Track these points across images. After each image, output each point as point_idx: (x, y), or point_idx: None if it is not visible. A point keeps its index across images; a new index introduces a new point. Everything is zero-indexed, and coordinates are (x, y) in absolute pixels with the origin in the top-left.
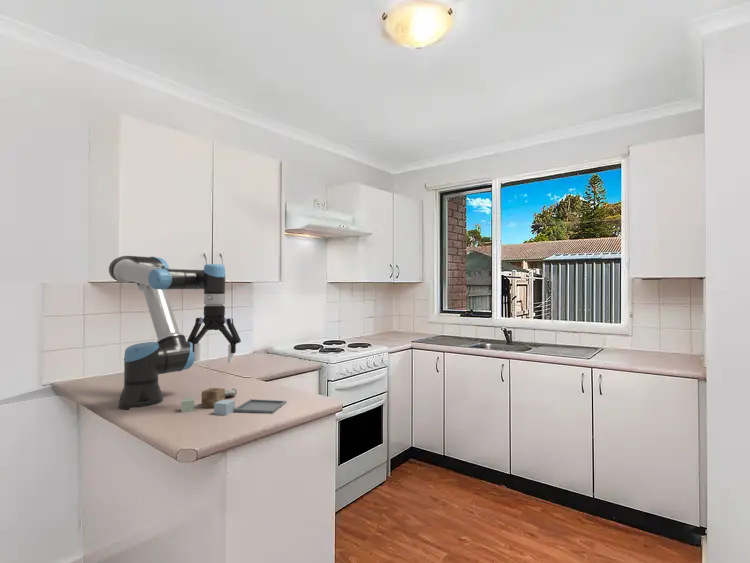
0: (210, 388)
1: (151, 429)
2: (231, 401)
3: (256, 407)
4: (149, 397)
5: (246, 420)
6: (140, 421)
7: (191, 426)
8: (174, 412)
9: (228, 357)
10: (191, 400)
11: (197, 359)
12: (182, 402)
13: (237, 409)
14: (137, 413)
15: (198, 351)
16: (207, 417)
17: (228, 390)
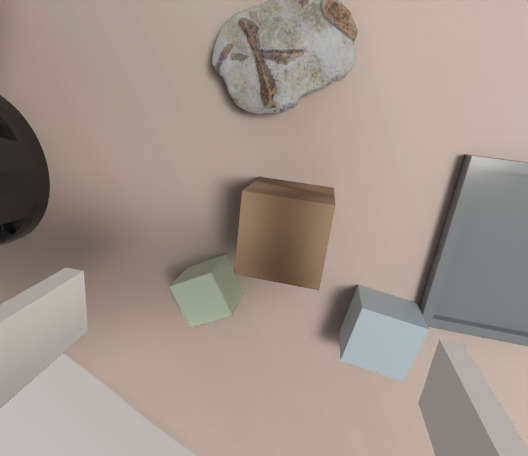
0: (249, 205)
1: (210, 451)
2: (415, 342)
3: (520, 274)
4: (11, 221)
5: None
6: (136, 385)
7: (313, 444)
8: None
9: (438, 454)
10: (223, 317)
11: (76, 322)
12: (195, 323)
13: (437, 327)
14: None
15: (4, 357)
16: (329, 367)
17: (307, 42)
